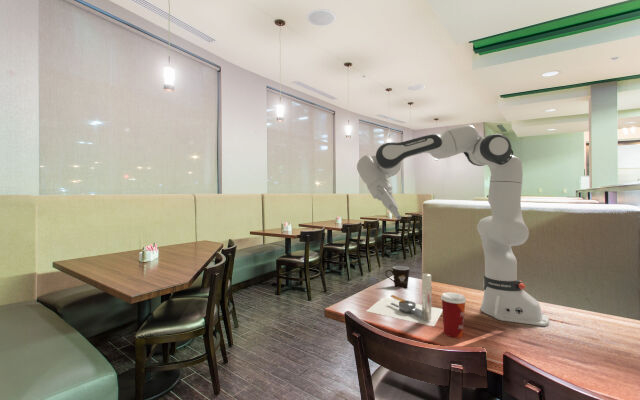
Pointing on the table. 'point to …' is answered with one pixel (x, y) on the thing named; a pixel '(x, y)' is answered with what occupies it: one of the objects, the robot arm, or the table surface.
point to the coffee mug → (400, 276)
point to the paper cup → (453, 314)
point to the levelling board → (392, 310)
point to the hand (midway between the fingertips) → (398, 217)
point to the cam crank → (426, 300)
